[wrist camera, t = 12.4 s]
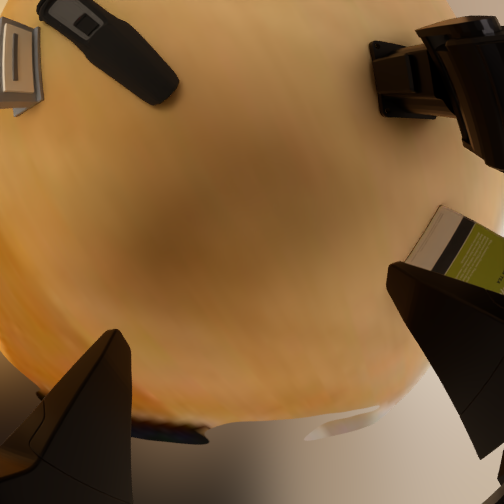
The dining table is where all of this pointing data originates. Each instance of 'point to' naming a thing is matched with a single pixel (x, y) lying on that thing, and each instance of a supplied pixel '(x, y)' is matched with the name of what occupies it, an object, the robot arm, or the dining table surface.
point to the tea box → (461, 250)
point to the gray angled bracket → (19, 66)
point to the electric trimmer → (112, 47)
